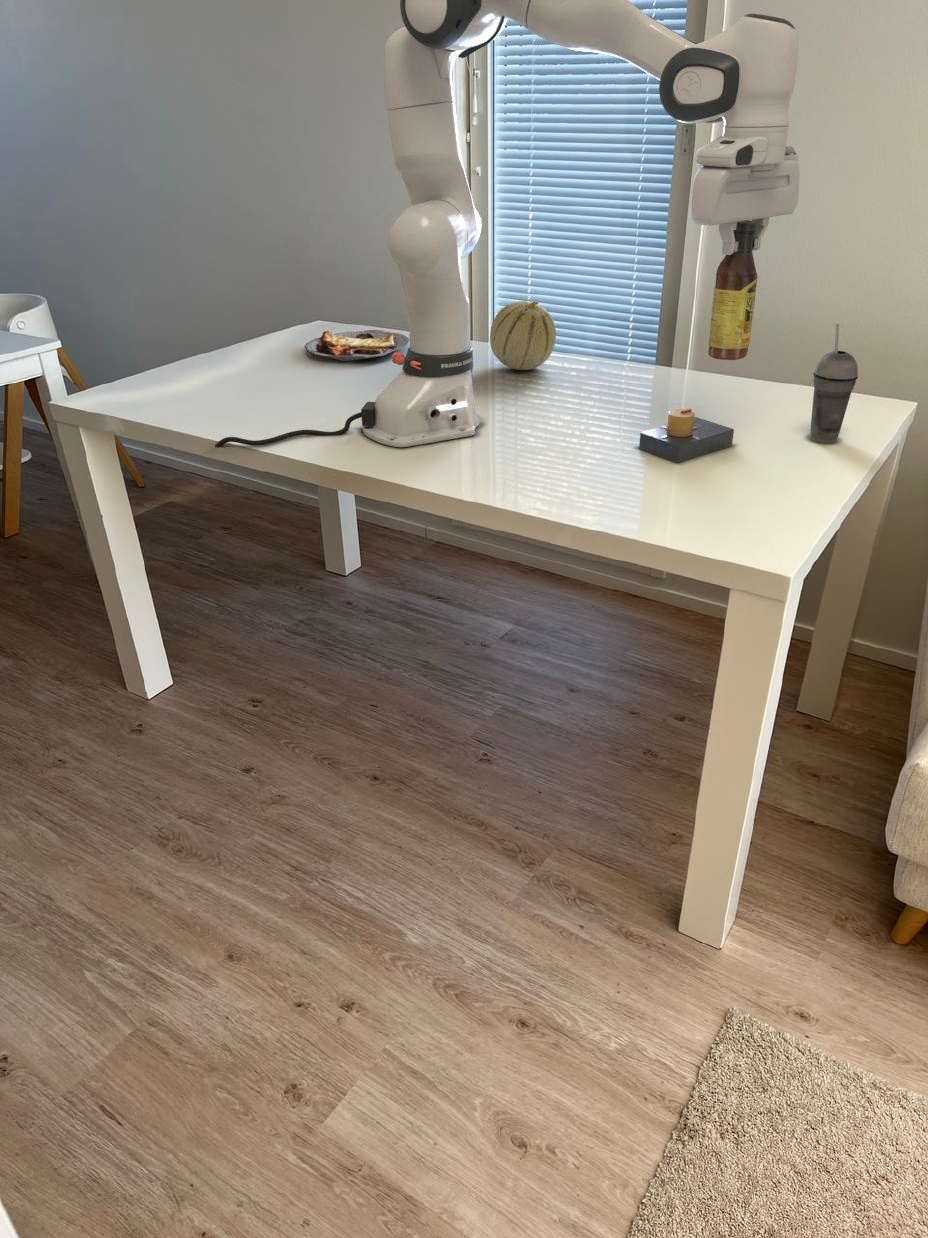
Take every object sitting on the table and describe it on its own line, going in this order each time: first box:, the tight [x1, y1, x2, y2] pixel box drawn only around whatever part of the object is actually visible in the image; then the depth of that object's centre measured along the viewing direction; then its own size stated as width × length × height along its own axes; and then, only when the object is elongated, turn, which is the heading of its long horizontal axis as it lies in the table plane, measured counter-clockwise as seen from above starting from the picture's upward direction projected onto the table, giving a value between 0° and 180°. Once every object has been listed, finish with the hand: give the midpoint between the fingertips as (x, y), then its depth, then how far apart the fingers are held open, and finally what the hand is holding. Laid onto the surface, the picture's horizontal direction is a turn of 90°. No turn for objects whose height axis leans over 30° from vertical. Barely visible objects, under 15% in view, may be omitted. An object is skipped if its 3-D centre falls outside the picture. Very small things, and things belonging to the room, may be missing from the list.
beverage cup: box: [809, 323, 859, 445], centre depth 159 cm, size 7×7×20 cm
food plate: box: [304, 329, 410, 362], centre depth 222 cm, size 25×23×4 cm
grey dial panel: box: [638, 416, 735, 464], centre depth 161 cm, size 14×9×3 cm, turn 126°
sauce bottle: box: [707, 220, 759, 361], centre depth 141 cm, size 6×6×20 cm
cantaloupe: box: [489, 300, 557, 371], centre depth 203 cm, size 15×15×15 cm
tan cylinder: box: [666, 408, 696, 437], centre depth 158 cm, size 4×4×4 cm
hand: (740, 252), depth 138 cm, fingers closed on sauce bottle, 4 cm apart
